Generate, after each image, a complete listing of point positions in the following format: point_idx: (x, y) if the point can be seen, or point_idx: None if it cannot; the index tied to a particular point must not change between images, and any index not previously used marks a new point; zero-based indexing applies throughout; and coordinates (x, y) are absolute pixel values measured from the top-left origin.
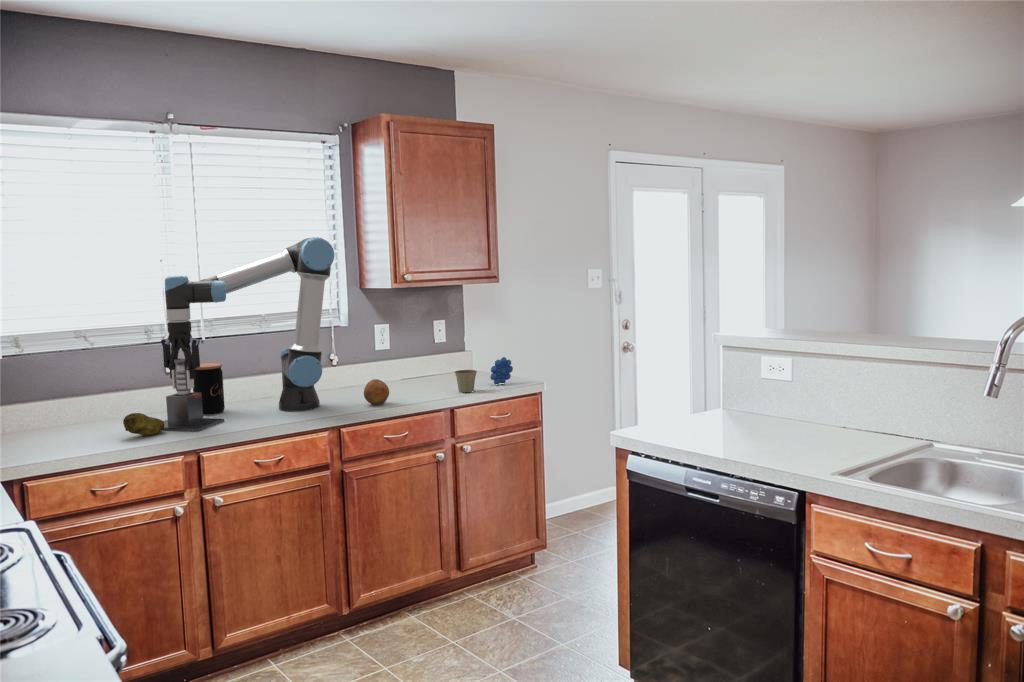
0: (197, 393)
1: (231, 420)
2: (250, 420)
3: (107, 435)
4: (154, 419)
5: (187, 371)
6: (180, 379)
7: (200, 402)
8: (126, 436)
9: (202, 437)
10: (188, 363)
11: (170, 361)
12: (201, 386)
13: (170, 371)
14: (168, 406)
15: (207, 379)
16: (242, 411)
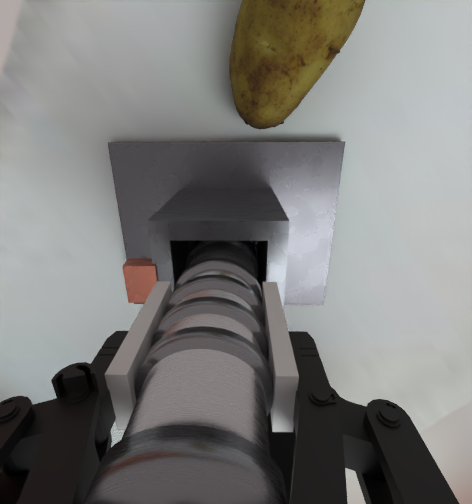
0: None
1: (128, 314)
2: (68, 320)
3: (460, 7)
4: (256, 55)
5: (118, 365)
6: (192, 299)
7: None
8: None
9: (15, 43)
10: (59, 447)
11: (333, 478)
12: (274, 454)
13: (319, 376)
14: (271, 206)
15: None
16: None
